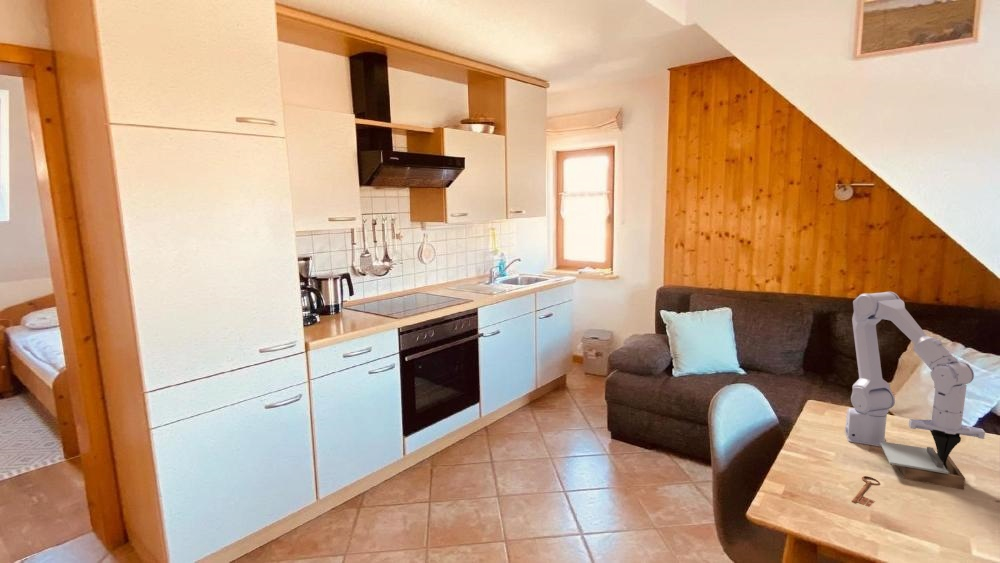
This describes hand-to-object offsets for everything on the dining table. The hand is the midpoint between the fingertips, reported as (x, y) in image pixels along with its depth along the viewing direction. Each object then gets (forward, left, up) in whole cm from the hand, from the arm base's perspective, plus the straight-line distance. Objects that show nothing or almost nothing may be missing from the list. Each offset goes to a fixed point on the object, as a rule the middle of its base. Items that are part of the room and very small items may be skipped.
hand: (941, 458), depth 130 cm
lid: (-6, 0, -1) cm, 6 cm away
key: (-18, -17, -5) cm, 25 cm away
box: (-3, 0, -4) cm, 5 cm away
